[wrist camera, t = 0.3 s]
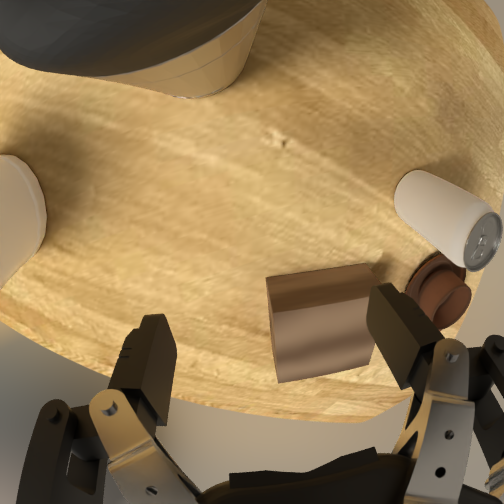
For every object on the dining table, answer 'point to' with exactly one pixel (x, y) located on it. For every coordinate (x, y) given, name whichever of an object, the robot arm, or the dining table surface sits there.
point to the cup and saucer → (440, 291)
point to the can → (449, 219)
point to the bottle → (19, 216)
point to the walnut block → (320, 321)
